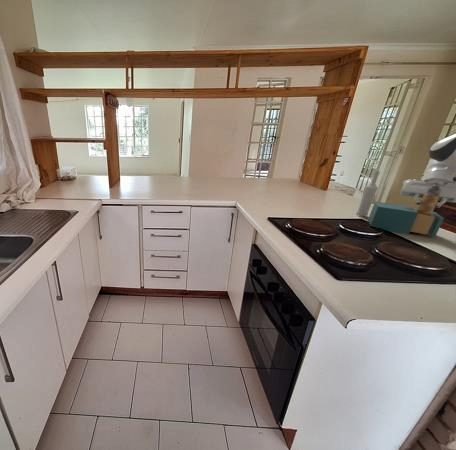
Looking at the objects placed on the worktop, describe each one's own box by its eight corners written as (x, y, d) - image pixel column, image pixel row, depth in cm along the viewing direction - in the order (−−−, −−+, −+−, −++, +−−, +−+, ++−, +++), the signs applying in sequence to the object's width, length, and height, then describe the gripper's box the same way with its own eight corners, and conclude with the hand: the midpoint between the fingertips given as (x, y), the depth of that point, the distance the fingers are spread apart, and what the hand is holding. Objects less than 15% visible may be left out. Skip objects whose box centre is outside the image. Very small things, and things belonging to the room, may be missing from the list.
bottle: (353, 213, 137) (368, 170, 129) (363, 214, 137) (379, 171, 128) (359, 216, 132) (375, 171, 124) (369, 217, 132) (386, 172, 123)
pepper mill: (422, 228, 111) (443, 184, 104) (425, 231, 107) (446, 186, 100) (408, 225, 114) (427, 183, 106) (410, 228, 110) (430, 184, 103)
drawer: (430, 230, 112) (439, 212, 109) (438, 237, 103) (448, 218, 100) (392, 223, 120) (398, 206, 117) (396, 230, 110) (404, 212, 107)
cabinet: (402, 226, 118) (411, 206, 114) (408, 234, 108) (418, 212, 104) (367, 220, 126) (374, 201, 122) (370, 227, 115) (378, 206, 112)
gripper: (406, 174, 114) (397, 196, 111) (473, 180, 100) (465, 206, 97) (402, 182, 118) (394, 204, 115) (466, 189, 105) (458, 214, 102)
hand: (427, 205), depth 106 cm, fingers closed on pepper mill, 5 cm apart
